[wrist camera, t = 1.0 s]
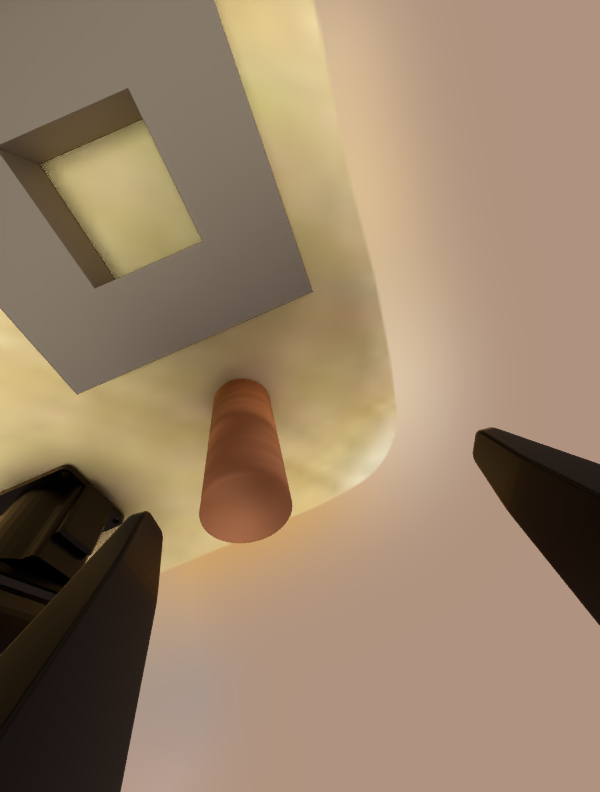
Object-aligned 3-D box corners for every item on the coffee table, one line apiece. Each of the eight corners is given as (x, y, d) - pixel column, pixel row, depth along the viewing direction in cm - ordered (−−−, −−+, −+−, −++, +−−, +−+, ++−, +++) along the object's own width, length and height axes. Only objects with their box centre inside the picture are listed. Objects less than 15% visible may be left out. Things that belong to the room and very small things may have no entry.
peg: (229, 434, 23) (226, 554, 14) (203, 392, 21) (180, 501, 12) (278, 414, 23) (304, 521, 14) (256, 369, 21) (270, 462, 12)
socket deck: (98, 373, 19) (76, 394, 16) (-447, -299, 8) (-763, -550, 6) (302, 284, 19) (312, 291, 16) (20, -513, 8) (-82, -870, 6)
